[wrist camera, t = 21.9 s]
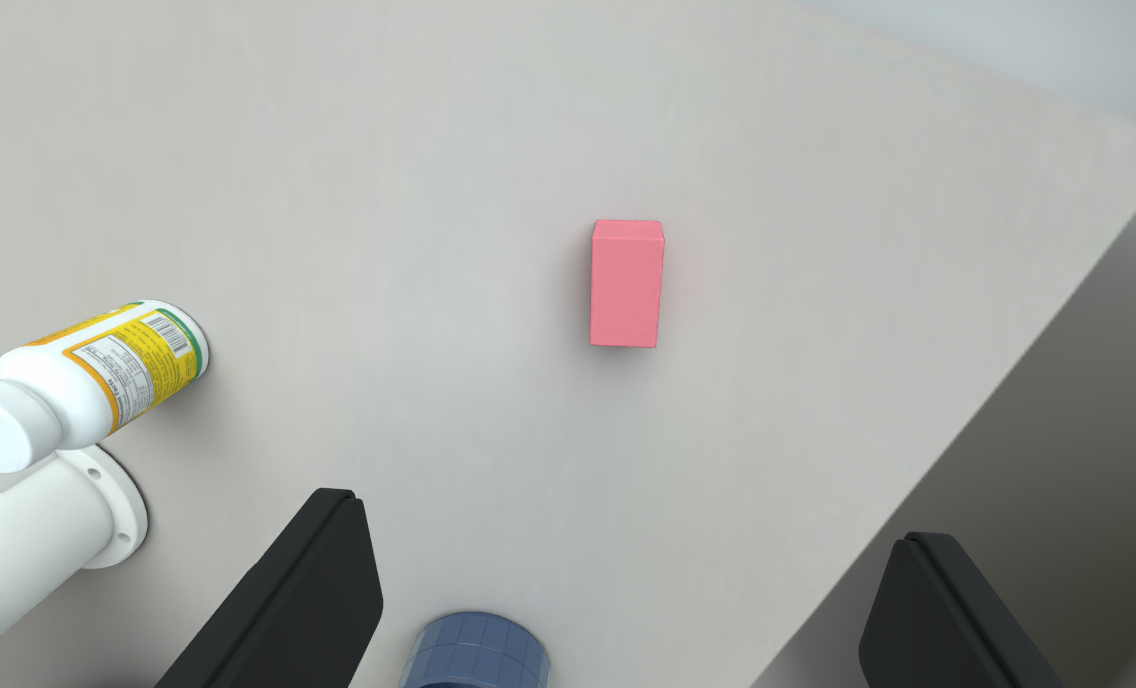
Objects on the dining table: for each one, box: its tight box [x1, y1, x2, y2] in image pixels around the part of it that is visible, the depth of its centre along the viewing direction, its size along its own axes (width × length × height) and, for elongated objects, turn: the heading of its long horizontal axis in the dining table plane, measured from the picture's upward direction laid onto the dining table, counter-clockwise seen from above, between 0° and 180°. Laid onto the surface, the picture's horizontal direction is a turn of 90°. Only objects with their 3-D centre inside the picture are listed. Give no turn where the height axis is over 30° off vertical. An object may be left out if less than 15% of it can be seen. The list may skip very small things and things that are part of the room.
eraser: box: [590, 220, 665, 348], centre depth 24 cm, size 5×3×4 cm, turn 0°
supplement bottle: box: [0, 300, 209, 473], centre depth 26 cm, size 5×5×10 cm
